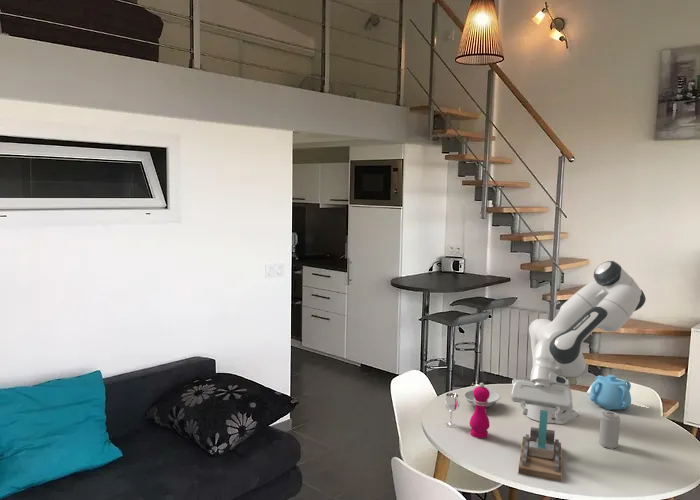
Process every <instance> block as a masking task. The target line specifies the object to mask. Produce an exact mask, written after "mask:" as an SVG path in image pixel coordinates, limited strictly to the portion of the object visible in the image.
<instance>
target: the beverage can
mask: <svg viewBox="0 0 700 500" xmlns="http://www.w3.org/2000/svg"><path fill="white" fill-rule="evenodd" d="M599 423H600V424H599V425H600V426H599V434H598V436H599V437H598V443H599V444H600V445H601V446H602V447H603V446H604V447H603V448H605V447H607V448H606V449H609V448H613V449H616V448H617V447H618V446H619V438H620V426H621V418H620V414H619V413H617V412H615V411H612V410H605V411H602V413H601V415H600V422H599Z"/></svg>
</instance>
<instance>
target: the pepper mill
mask: <svg viewBox="0 0 700 500" xmlns="http://www.w3.org/2000/svg"><path fill="white" fill-rule="evenodd" d="M473 390H474V391H473V396H474V397H475V399H474V403H475V406H474V411H473V413H472V416H471V417H470V419H469V426H470V427H471V428H470V436H471V437H473V438H477V439H487V438H488V436H489V433H488V429H490V419H489V417H488V414H487V407H486V405H487V404H488V400H487V399H488V398H489V396H490V393H489V390H490V389H489V388H487V387H485V383H484V382H480V383H479V385H478V386H476V387H474V389H473Z"/></svg>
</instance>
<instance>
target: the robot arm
mask: <svg viewBox="0 0 700 500" xmlns="http://www.w3.org/2000/svg"><path fill="white" fill-rule="evenodd" d="M593 278H594V280H592V281H591V282H589V283H587V284H585V285H584V286H582V288H580V289H579V290H578V291H576V292H575V293H573V295H572V296H571V297H569V298H568V300H566V301H565V302H564V303H563V304H561V306H560V308H559V311H558V313H557V315H556V316H555V318H554V319H553V320H550V319H547V318H536V319H534V320H533V321H531V323H530V324H529V326H528V334H529V338H530V348H531V355H532V356H531V357H532V368H531V371H530V376H529V377H530V378H529V377H521V376H517V377H515V378H513V379H512V382H511V387H512V389H511V395H510V399H511V400H512V402H513V403H520V407H521V409H522V415H524V416H526V417H527V418H529V419H531V420H534V421H536V422H539V421H540V410H545V411H548V416H547V424H548V423H549V424H557V425H565V424H566V423H568V422H570V421H572V420H573V419H575V418H577V417H578V416H579V413H578V411H576V410H575V409H574V408H573V405H574V404H573V397H572V390H571V388H570V381H569V379H567V378H577V377H578V378H579V377H580V376H582V375H583V374H584V373H585V371H586V369H587V362H586V359H585V357H584V354H583V351H582V345H583V342H584V341H585V340H587V338H589V336H590V335H591V334H592V333H594V332H595V330H596V329H600V330H602V331H604V332H610V333H611V332H617V331H618V330H619V329H621V328H622V327H623V326H624V325H625V324H626V323H627V322H628V320H629V319H630V318H631V316H632V315H633V314H634V312H636V311H638V310H639V309H641V308H642V307H643V306H644V304H645V303H646V302H647V301H646V300H647V299H646V295H645V293H644V291H643V290H642V289H641V287H639V284H638V283H637V282H636V281H635V280H634V278H633V277H631V276H630V275H629V274H628V272H627V271H626V270H624V269H623V268H622V266H621V265H620V264H619V263H617V262H616V261H614V260H608V261H604V262H602V263H600V265H598V266H597V267H596V268H595V270H594V273H593Z"/></svg>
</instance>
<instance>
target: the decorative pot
mask: <svg viewBox="0 0 700 500" xmlns="http://www.w3.org/2000/svg"><path fill="white" fill-rule="evenodd" d="M631 387H632V386H631V383H630V381H628V379H627V380H626V379H620V378H618V377H617V376H616V375H614V374H608V375H607V376H603V375H597V376H596V377H595V381H593V383H592V384H591V388H590V392H589V400H590V402H593V403H594V404H595V405H597V406H599V407H602V408H604V410H605V411H612V410H626V409H627V408H629V407H630V406H631V403H632V397H631V396H632V395H631V392H630V390H631Z"/></svg>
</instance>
